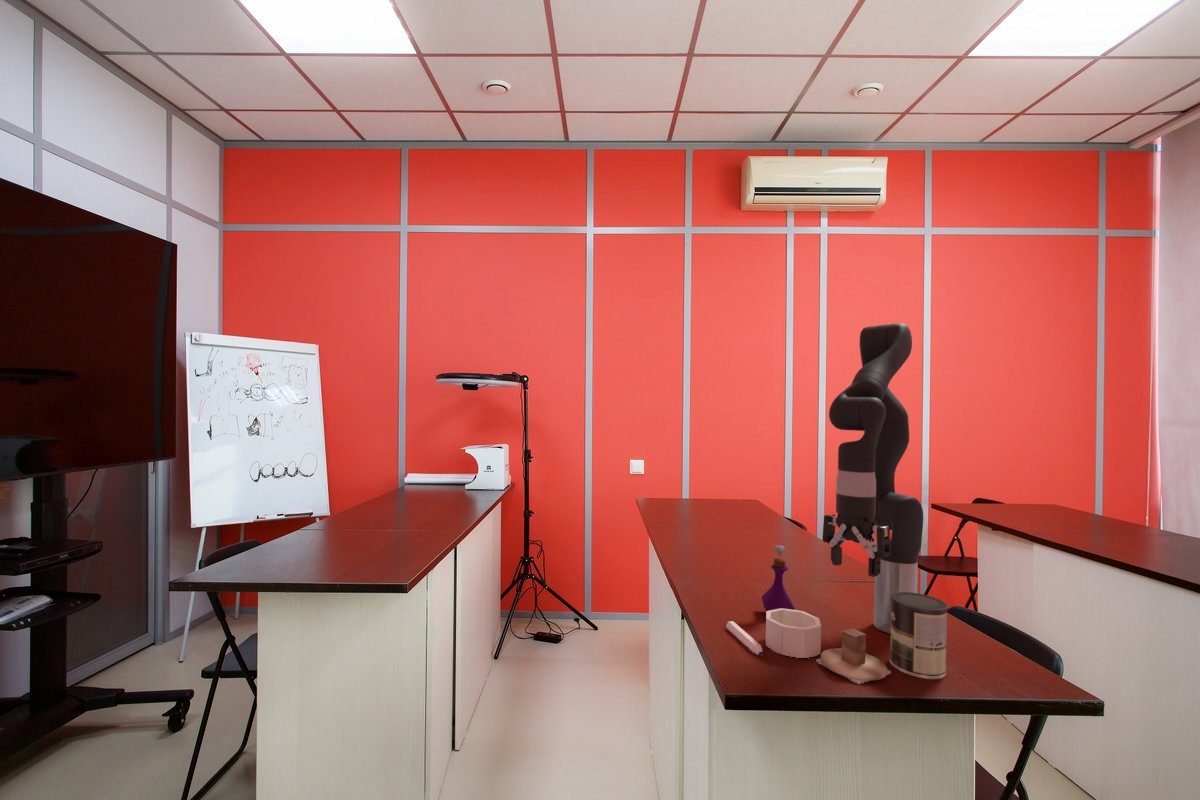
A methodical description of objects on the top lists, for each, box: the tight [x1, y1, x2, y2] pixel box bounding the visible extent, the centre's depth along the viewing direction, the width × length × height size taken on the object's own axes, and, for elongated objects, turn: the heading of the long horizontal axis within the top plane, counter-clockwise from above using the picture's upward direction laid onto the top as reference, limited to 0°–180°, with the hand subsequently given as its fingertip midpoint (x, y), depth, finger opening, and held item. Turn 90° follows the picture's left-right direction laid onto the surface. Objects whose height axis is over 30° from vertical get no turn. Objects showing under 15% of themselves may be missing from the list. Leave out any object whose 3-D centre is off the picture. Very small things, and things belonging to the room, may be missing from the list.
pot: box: [765, 608, 822, 659], centre depth 121 cm, size 11×11×6 cm
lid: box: [820, 628, 888, 682], centre depth 112 cm, size 12×12×7 cm
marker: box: [725, 620, 764, 657], centre depth 122 cm, size 3×2×16 cm
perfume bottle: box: [761, 545, 796, 612], centre depth 139 cm, size 8×8×18 cm
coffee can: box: [889, 592, 949, 680], centre depth 113 cm, size 10×10×14 cm
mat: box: [816, 657, 892, 685], centre depth 112 cm, size 10×10×1 cm
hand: (854, 570), depth 112 cm, fingers open, 8 cm apart
